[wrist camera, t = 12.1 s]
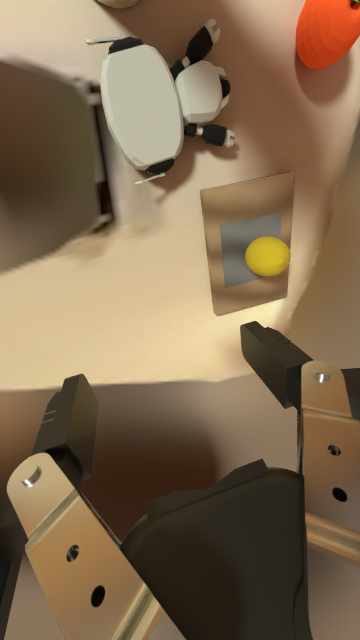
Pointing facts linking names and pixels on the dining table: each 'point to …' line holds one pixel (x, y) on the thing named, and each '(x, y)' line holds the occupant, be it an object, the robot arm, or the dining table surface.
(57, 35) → the dining table surface
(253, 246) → the lemon
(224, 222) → the serving board
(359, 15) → the clementine
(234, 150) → the dining table surface
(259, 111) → the dining table surface
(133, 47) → the robot toy
